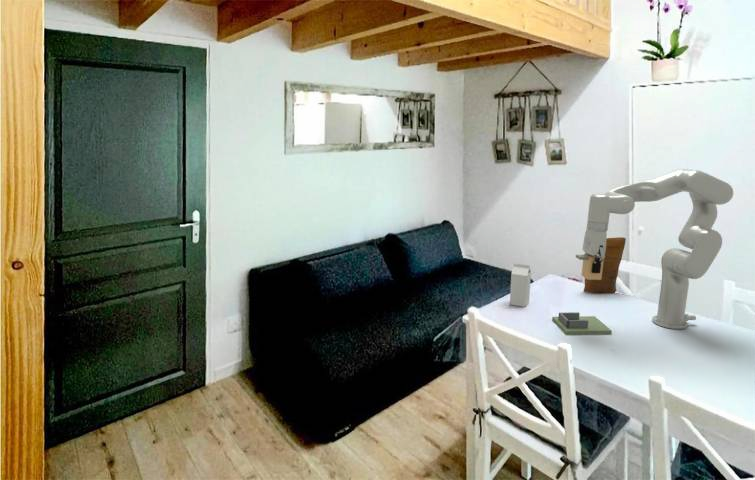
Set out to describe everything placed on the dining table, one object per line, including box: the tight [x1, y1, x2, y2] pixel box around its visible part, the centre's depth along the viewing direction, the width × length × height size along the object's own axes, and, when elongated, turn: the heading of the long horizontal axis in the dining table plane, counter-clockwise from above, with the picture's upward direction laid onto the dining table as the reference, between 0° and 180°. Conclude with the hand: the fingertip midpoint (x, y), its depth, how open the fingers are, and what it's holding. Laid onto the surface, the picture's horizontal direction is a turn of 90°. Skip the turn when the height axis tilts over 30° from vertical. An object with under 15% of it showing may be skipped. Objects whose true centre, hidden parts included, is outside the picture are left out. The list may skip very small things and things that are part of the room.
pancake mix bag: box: [583, 237, 627, 294], centre depth 234 cm, size 7×19×28 cm, turn 90°
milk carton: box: [509, 263, 532, 308], centre depth 221 cm, size 7×7×19 cm
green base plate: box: [551, 311, 613, 336], centre depth 195 cm, size 18×15×4 cm
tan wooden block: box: [575, 253, 604, 280], centre depth 190 cm, size 9×6×9 cm, turn 91°
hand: (592, 270), depth 190 cm, fingers closed on tan wooden block, 5 cm apart
